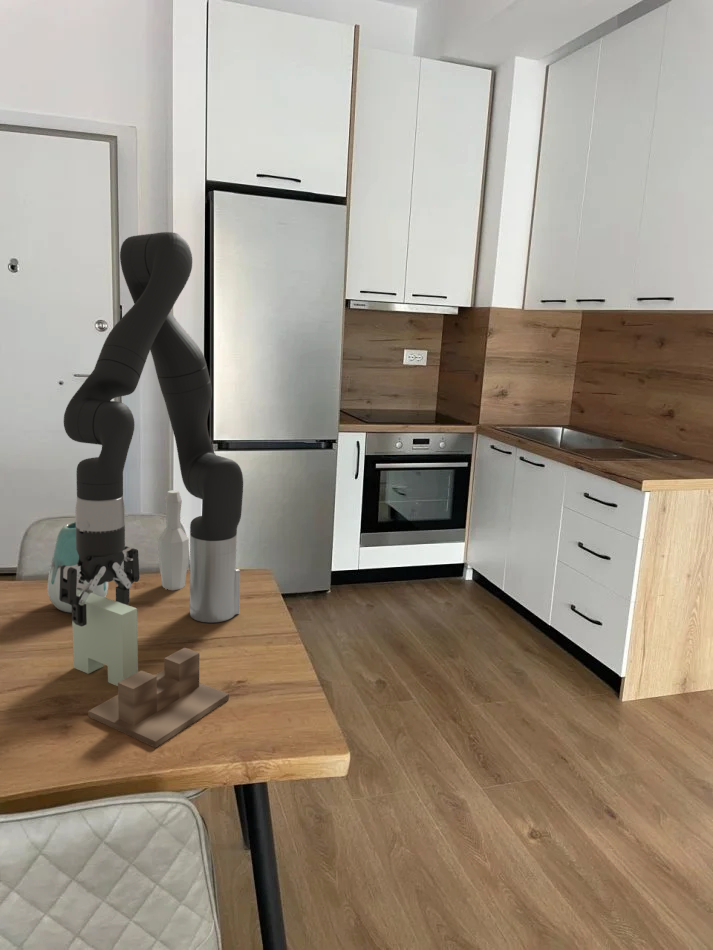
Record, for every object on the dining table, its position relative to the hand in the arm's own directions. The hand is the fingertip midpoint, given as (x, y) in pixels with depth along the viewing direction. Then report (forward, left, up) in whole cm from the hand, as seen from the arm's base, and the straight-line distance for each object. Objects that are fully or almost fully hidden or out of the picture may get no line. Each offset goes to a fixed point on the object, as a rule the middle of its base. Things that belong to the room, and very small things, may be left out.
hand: (101, 616), depth 119 cm
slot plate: (-3, +15, -11) cm, 19 cm away
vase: (-6, -30, -11) cm, 32 cm away
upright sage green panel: (0, 0, -11) cm, 11 cm away
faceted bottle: (-27, -30, -11) cm, 42 cm away
